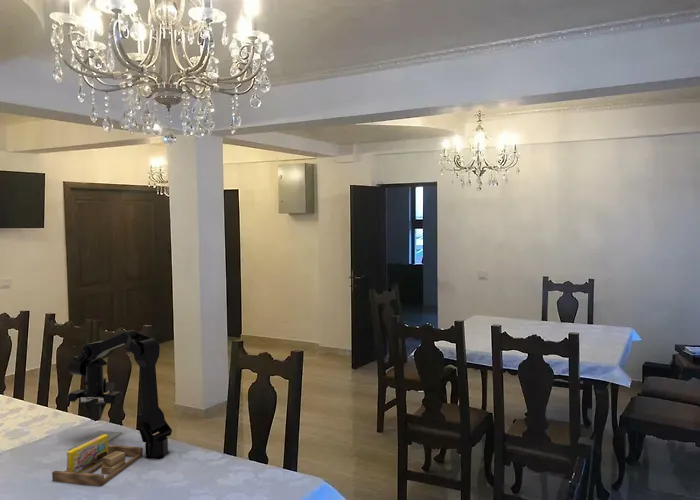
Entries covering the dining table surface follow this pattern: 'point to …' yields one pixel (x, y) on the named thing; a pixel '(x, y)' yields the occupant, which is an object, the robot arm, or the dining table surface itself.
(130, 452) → the rack
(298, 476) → the dining table surface
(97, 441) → the candy box
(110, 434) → the pad
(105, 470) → the offcut lower
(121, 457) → the offcut upper
